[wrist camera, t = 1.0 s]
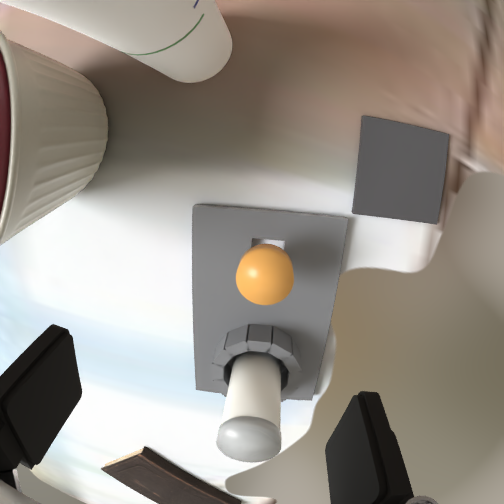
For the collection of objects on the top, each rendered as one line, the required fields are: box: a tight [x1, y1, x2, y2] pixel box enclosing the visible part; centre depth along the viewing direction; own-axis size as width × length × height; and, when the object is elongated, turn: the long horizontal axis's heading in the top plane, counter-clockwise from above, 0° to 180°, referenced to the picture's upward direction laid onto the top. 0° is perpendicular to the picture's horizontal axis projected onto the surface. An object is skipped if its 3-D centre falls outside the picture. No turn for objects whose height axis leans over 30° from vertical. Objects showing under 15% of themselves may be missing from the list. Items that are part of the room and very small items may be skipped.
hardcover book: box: [101, 446, 241, 504], centre depth 47 cm, size 16×23×2 cm
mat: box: [352, 116, 449, 224], centre depth 27 cm, size 9×9×1 cm
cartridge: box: [216, 351, 281, 462], centre depth 28 cm, size 5×5×12 cm
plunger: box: [236, 244, 294, 305], centre depth 26 cm, size 4×4×4 cm
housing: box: [192, 205, 348, 402], centre depth 31 cm, size 14×22×4 cm, turn 176°
